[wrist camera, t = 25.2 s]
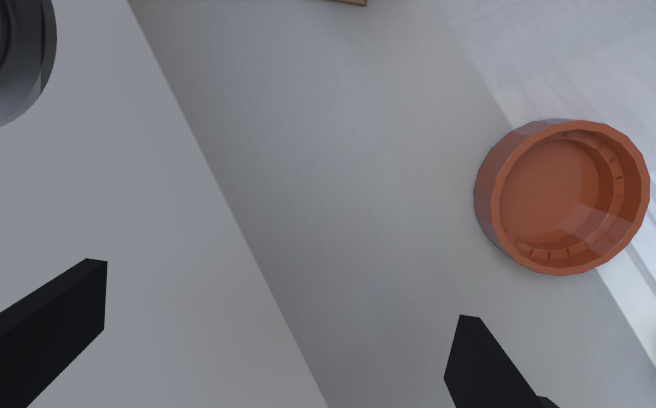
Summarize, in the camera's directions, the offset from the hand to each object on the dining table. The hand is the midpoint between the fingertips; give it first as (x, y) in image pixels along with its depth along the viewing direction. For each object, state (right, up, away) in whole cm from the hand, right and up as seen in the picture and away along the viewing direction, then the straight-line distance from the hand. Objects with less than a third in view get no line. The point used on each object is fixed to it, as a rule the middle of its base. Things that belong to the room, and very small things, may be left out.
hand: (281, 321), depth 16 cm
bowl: (+24, +6, +28) cm, 38 cm away
